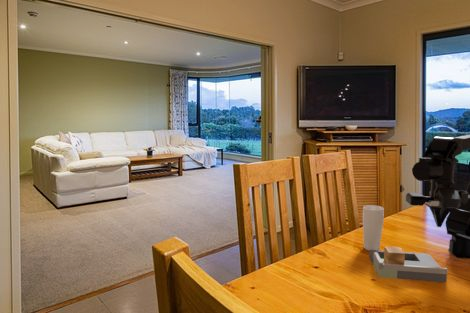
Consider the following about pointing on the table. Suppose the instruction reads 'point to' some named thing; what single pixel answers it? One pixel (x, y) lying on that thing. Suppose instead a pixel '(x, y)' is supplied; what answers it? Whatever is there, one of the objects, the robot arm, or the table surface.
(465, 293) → the table surface
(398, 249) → the ochre block
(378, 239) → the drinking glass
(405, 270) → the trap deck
